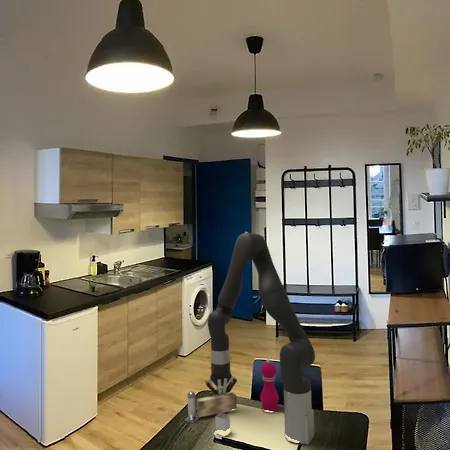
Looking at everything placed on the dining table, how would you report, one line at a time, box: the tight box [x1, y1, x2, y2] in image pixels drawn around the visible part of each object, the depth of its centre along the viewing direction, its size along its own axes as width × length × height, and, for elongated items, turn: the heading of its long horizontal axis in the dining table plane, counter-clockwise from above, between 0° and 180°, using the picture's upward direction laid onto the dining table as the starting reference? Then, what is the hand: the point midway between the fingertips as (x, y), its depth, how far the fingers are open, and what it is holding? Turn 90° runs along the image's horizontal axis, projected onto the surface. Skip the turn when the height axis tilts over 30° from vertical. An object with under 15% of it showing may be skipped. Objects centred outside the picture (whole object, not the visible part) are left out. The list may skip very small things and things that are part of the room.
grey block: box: [214, 412, 231, 432], centre depth 154 cm, size 4×4×6 cm
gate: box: [196, 392, 238, 418], centre depth 167 cm, size 15×3×6 cm, turn 108°
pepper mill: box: [259, 358, 280, 412], centre depth 170 cm, size 7×7×20 cm
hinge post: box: [184, 391, 201, 424], centre depth 164 cm, size 4×4×11 cm
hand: (221, 403), depth 171 cm, fingers closed
